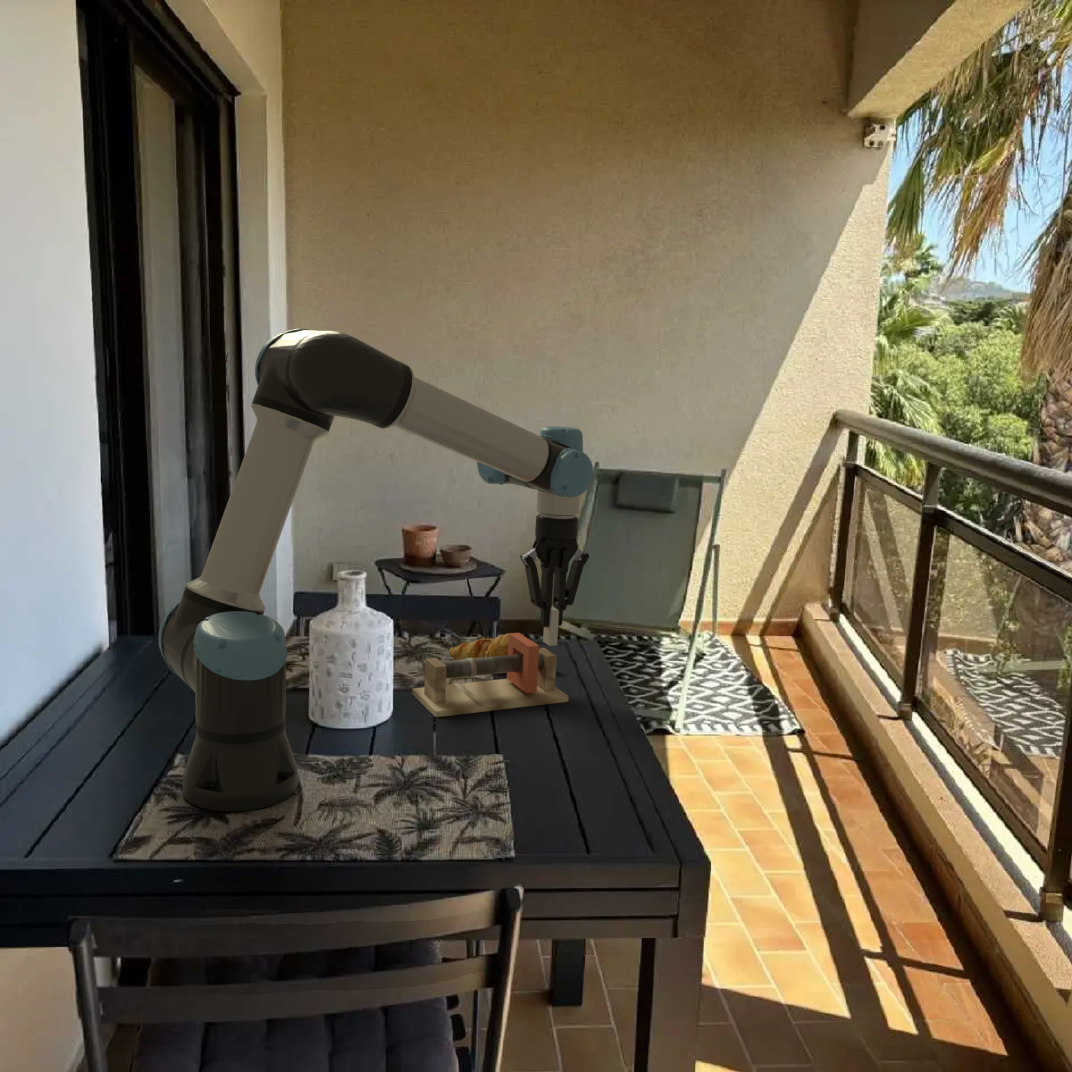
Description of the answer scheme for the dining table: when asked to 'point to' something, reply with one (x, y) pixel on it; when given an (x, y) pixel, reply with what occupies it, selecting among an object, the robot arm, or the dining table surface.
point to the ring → (524, 662)
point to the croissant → (481, 648)
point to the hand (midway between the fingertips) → (549, 643)
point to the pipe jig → (485, 685)
